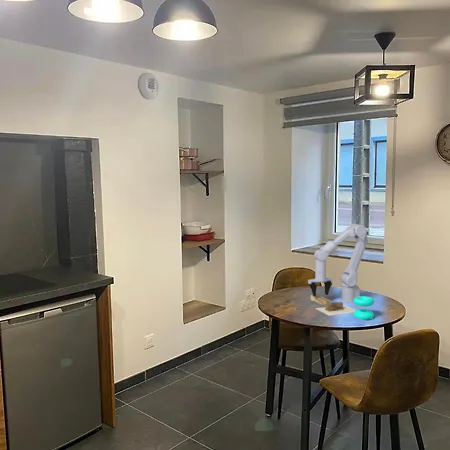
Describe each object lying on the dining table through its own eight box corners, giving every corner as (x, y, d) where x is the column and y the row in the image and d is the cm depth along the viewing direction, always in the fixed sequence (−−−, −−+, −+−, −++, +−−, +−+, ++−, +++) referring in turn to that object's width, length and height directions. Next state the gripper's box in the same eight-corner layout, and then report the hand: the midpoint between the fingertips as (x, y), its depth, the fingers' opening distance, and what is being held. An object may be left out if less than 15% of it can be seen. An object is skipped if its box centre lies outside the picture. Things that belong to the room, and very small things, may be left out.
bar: (316, 300, 269) (316, 294, 268) (331, 306, 253) (331, 300, 253) (310, 300, 267) (310, 294, 267) (325, 307, 252) (325, 301, 252)
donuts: (372, 295, 235) (375, 300, 225) (372, 315, 236) (375, 321, 226) (352, 295, 237) (354, 300, 227) (352, 314, 238) (354, 320, 228)
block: (339, 307, 248) (339, 301, 248) (344, 309, 244) (344, 303, 244) (324, 309, 246) (324, 303, 245) (328, 311, 241) (328, 305, 241)
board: (344, 305, 254) (344, 304, 254) (359, 312, 240) (359, 311, 240) (315, 309, 248) (315, 308, 248) (328, 316, 235) (328, 315, 235)
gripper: (328, 269, 265) (328, 292, 266) (305, 271, 260) (305, 294, 262) (334, 271, 258) (334, 295, 259) (311, 273, 253) (311, 297, 255)
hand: (320, 295), depth 260 cm, fingers open, 7 cm apart
